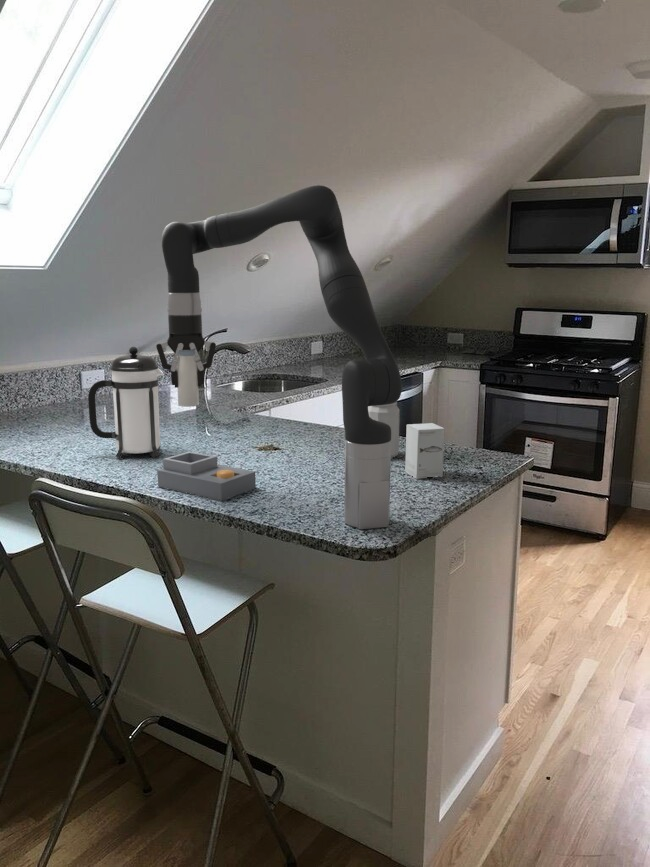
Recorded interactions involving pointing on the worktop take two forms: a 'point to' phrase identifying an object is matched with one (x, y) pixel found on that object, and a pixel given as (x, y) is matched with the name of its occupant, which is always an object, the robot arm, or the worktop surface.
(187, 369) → the cartridge
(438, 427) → the supplement box
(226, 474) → the button
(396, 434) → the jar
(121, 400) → the coffee press
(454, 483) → the worktop surface
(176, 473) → the housing
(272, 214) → the robot arm
